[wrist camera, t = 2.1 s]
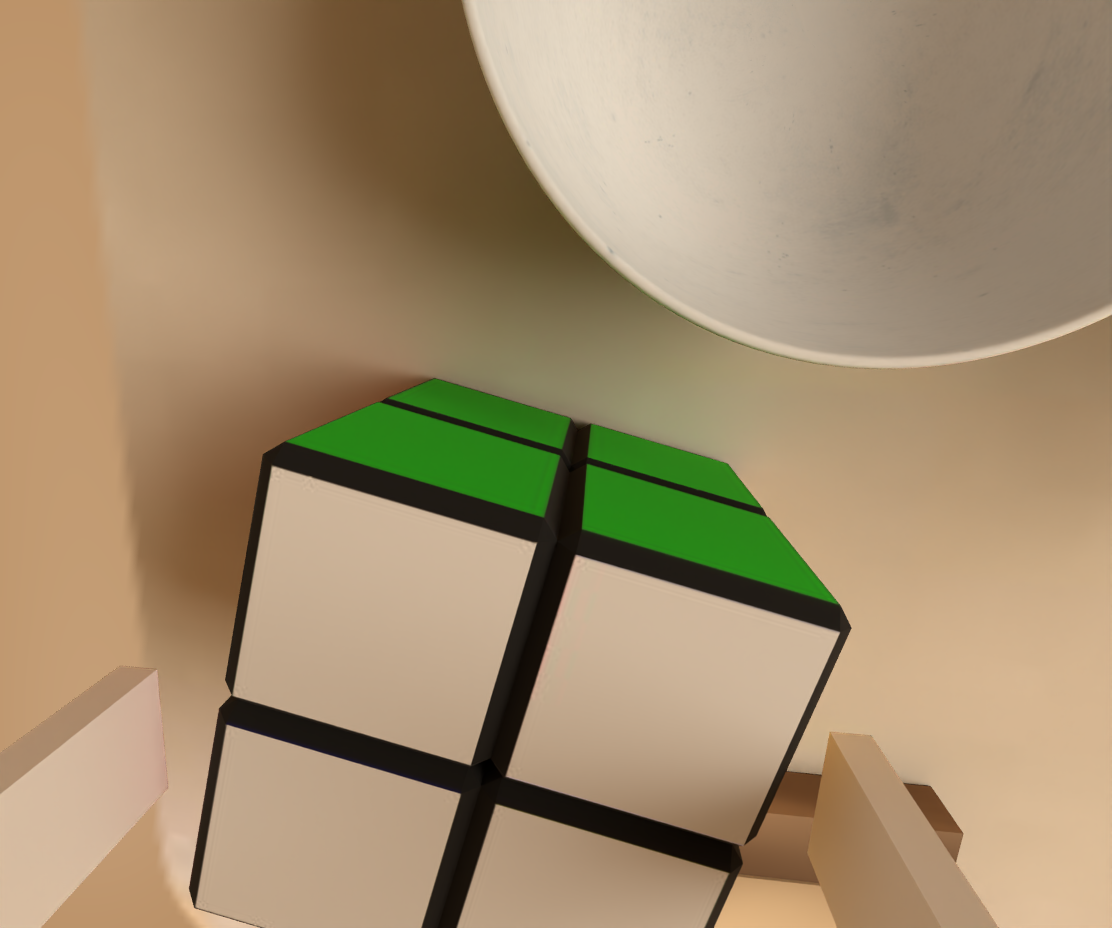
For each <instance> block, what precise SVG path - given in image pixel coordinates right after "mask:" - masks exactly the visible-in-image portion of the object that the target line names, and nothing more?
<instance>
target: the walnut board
mask: <svg viewBox="0 0 1112 928" xmlns="http://www.w3.org/2000/svg"><path fill="white" fill-rule="evenodd" d="M821 777H822V775H813V774H804V773H794V772H786V773H785V775H784V777H783V779H782V781H781V784H780V786H779V788H778V790H777V792H776V794H775V797H774V799H773V801H772V803H771V805H770V808H769V810H768V812H767V814H766V816H765V819H764V821H763V823H762V825H761V827H760V829H759V832H758V834H757V836H756V837H755V838H753V839H752V840H751V841H749V842H748V843H747V844H746V845H744V846H739V849H740V853H741V857H742V861H743V865H742V867H741V869H740V872H739V874H738V876H737V878H736V880H735V883H734V885H733V887H732V889H731V891H730V894H729V896H728V898H727V900H726V902H725V905H724V907H723V909H722V911H721V913H720V915H719V918H718V920H717V922H716V924H715V926H714V928H837V926H836V924H835V921H834V919H833V916H832V914H831V911H830V909H829V906H828V904H827V901H826V899H825V896H824V894H823V891H822V888H821V886H820V883H819V881H818V878H817V876H816V873H815V871H814V868H813V866H812V863H811V861H810V858H809V856H808V853H807V852H808V847H809V841H810V836H811V831H812V825H813V820H814V815H815V809H816V804H817V798H818V793H819V788H820V782H821ZM904 786H905V787H906V789H907V790H908V792H909V793H910V795H911V796H912V798H913V799H914V801H915V802H916V804H917V805H918V807H919V808H920V810H921V811H922V813H923V814H924V816H925V817H926V819H927V820H928V822H929V823H930V825H931V826H932V828H933V829H934V831H935V832H936V834H937V835H938V837H939V838H940V840H941V841H942V843H943V844H944V846H945V847H946V849H947V850H948V852H949V853H950V855H951V856H952V858H953V859H954V861H955V862H956V860H957V856H958V852H959V848H960V845H961V841H962V837H963V832H962V831H961V829H960V828H959V826H958V825H957V824H956V822H955V821H954V819H953V818H952V816H951V815H950V813H949V812H948V810H947V809H946V808H945V806H944V805H943V803H942V802H941V800H940V799H939V797H938V796H937V795H936V793H935V792H934V790H933V789H932V787H931V786H922V785H912V784H904Z"/></svg>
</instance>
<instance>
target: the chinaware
mask: <svg viewBox="0 0 1112 928" xmlns="http://www.w3.org/2000/svg"><path fill="white" fill-rule="evenodd" d="M462 5H463V9H464V13H465V17H466V21H467V25H468V29H469V32H470V36H471V39H472V43H473V46H474V49H475V52H476V55H477V59H478V62H479V64H480V67H481V70H482V73H483V75H484V78H485V81H486V84H487V86H488V89H489V91H490V93H491V96H492V98H493V101H494V103H495V106H496V108H497V110H498V112H499V114H500V116H501V118H502V121H503V123H504V125H505V127H506V129H507V131H508V133H509V135H510V137H511V139H512V140H513V142H514V144H515V146H516V148H517V150H518V151H519V153H520V155H521V157H522V158H523V160H524V162H525V163H526V165H527V167H528V168H529V170H530V172H531V173H532V175H533V176H534V178H535V179H536V181H537V182H538V184H539V185H540V187H541V188H542V190H543V191H544V192H545V194H546V195H547V197H548V198H549V199H550V201H551V202H552V204H553V205H554V206H555V207H556V209H557V210H558V211H559V212H560V214H561V215H562V216H563V217H564V219H565V220H566V221H567V222H568V223H569V225H570V226H571V227H572V228H573V229H574V230H575V231H576V233H577V234H578V235H579V236H580V237H581V238H582V239H583V240H584V241H585V242H586V243H587V244H588V245H589V246H590V247H591V249H592V250H593V251H594V252H595V253H596V254H597V255H599V256H600V257H601V258H602V259H603V260H604V261H605V262H606V263H607V264H608V265H609V266H610V267H611V268H613V269H614V270H615V271H616V272H617V273H619V274H620V275H621V276H622V277H623V278H625V279H626V280H627V281H628V282H630V283H631V284H632V285H634V286H635V287H636V288H638V289H639V290H640V291H641V292H643V293H644V294H646V295H647V296H649V297H650V298H652V299H653V300H654V301H656V302H657V303H659V304H660V305H662V306H664V307H665V308H667V309H669V310H670V311H672V312H674V313H675V314H677V315H678V316H680V317H682V318H684V319H686V320H688V321H690V322H692V323H693V324H695V325H697V326H699V327H701V328H703V329H706V330H708V331H710V332H712V333H714V334H716V335H719V336H721V337H724V338H726V339H728V340H731V341H733V342H736V343H739V344H742V345H745V346H747V347H750V348H753V349H756V350H760V351H763V352H766V353H770V354H773V355H777V356H781V357H785V358H790V359H794V360H799V361H804V362H810V363H815V364H822V365H830V366H838V367H849V368H864V369H907V368H923V367H933V366H943V365H950V364H957V363H963V362H969V361H974V360H979V359H984V358H989V357H993V356H998V355H1002V354H1006V353H1010V352H1014V351H1017V350H1021V349H1024V348H1028V347H1031V346H1034V345H1037V344H1040V343H1043V342H1046V341H1049V340H1052V339H1055V338H1058V337H1061V336H1063V335H1066V334H1068V333H1071V332H1074V331H1076V330H1079V329H1081V328H1084V327H1086V326H1088V325H1090V324H1093V323H1095V322H1097V321H1100V320H1102V319H1104V318H1106V317H1108V316H1110V315H1112V0H462Z"/></svg>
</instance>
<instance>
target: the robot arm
mask: <svg viewBox="0 0 1112 928" xmlns="http://www.w3.org/2000/svg"><path fill="white" fill-rule="evenodd" d="M167 789H168V780H167V769H166V759H165V748H164V737H163V727H162V716H161V705H160V694H159V684H158V673H157V669H149V668H138V667H127V666H119V667H118V668H116V669H115V670H113V671H112V672H111V673H109V674H108V675H107V676H105V677H104V678H102V679H101V680H100V681H98V682H97V683H96V684H94V685H93V686H91V687H90V688H89V689H87V690H86V691H85V692H83V693H82V694H81V695H79V696H78V697H76V698H75V699H74V700H72V701H71V702H69V703H68V704H67V705H65V706H64V707H63V708H61V709H60V710H58V711H57V712H56V713H54V714H53V715H52V716H50V717H49V718H48V719H46V720H45V721H43V722H42V723H41V724H39V725H38V726H37V727H35V728H34V729H32V730H31V731H30V732H28V733H27V734H25V735H24V736H23V737H21V738H20V739H19V740H17V741H16V742H14V743H13V744H12V745H10V746H9V747H8V748H6V749H5V750H3V751H2V752H1V753H0V928H41V927H42V926H43V924H44V923H45V922H46V921H47V920H48V919H49V918H50V917H51V916H52V914H53V913H54V912H55V911H56V910H57V909H58V908H59V907H60V906H61V905H62V904H63V903H64V901H65V900H66V899H67V898H68V897H69V896H70V895H71V894H72V893H73V891H74V890H75V889H76V888H77V887H78V886H79V885H80V884H81V883H82V882H83V881H84V880H85V878H86V877H87V876H88V875H89V874H90V873H91V872H92V871H93V870H94V868H95V867H96V866H97V865H98V864H99V863H100V862H101V861H102V860H103V859H104V857H106V855H107V854H108V853H109V852H110V851H111V850H112V849H113V848H114V847H115V846H116V844H117V843H118V842H119V841H120V840H121V839H122V838H123V837H124V836H125V835H126V834H127V832H128V831H129V830H130V829H131V828H132V827H133V826H134V825H135V824H136V823H137V822H138V820H139V819H140V818H141V817H142V816H143V815H144V814H145V813H146V812H147V811H148V809H149V808H150V807H151V806H152V805H153V804H154V803H155V802H156V801H157V800H158V799H159V797H160V796H161V795H162V794H163V793H164V792H165V791H166V790H167ZM807 853H808V856H809V858H810V861H811V863H812V866H813V868H814V871H815V873H816V876H817V878H818V881H819V883H820V886H821V888H822V891H823V894H824V896H825V899H826V901H827V904H828V906H829V909H830V911H831V914H832V916H833V919H834V921H835V924H836V926H837V928H999V927H998V926H997V924H996V923H995V921H994V920H993V918H992V917H991V915H990V914H989V912H988V911H987V909H986V908H985V906H984V905H983V903H982V902H981V900H980V899H979V897H978V896H977V894H976V893H975V891H974V890H973V888H972V887H971V885H970V884H969V882H968V881H967V879H966V878H965V876H964V875H963V873H962V872H961V870H960V869H959V867H958V865H957V864H956V862H955V861H954V859H953V858H952V856H951V855H950V853H949V852H948V850H947V849H946V847H945V846H944V844H943V843H942V841H941V840H940V838H939V837H938V835H937V834H936V832H935V831H934V829H933V828H932V826H931V825H930V823H929V822H928V820H927V819H926V817H925V816H924V814H923V813H922V811H921V810H920V808H919V807H918V805H917V804H916V802H915V801H914V799H913V798H912V796H911V795H910V793H909V792H908V790H907V789H906V787H905V786H904V784H903V783H902V781H901V780H900V778H899V777H898V775H897V774H896V772H895V770H894V769H893V767H892V766H891V764H890V763H889V761H888V760H887V758H886V757H885V755H884V754H883V752H882V751H881V749H880V748H879V746H878V745H877V743H876V742H875V740H874V739H873V737H872V736H871V735H860V734H849V733H839V732H830V734H829V739H828V745H827V750H826V755H825V761H824V766H823V772H822V777H821V782H820V788H819V793H818V798H817V804H816V809H815V815H814V820H813V825H812V831H811V836H810V841H809V847H808V852H807Z"/></svg>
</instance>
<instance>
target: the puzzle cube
mask: <svg viewBox="0 0 1112 928" xmlns="http://www.w3.org/2000/svg"><path fill="white" fill-rule="evenodd" d="M850 630H851V626H850V624H849V622H848V620H847V618H846V616H845V614H844V612H843V610H842V607H841V605H840V604H839V603H838V602H837V601H836V599H835V598H834V597H833V596H832V594H831V593H830V592H829V591H828V589H827V588H826V587H825V586H824V584H823V583H822V582H821V581H820V580H819V578H818V577H817V576H816V575H815V573H814V572H813V571H812V570H811V568H810V567H809V566H808V565H807V563H806V562H805V561H804V560H803V559H802V557H801V556H800V555H799V554H798V552H797V551H796V550H795V549H794V547H793V546H792V545H791V544H790V542H789V541H788V540H787V539H786V538H785V536H784V535H783V534H782V533H781V531H780V530H779V529H778V528H777V526H776V525H775V524H774V523H773V522H772V520H771V519H770V518H769V517H767V516H766V514H765V512H764V510H763V508H762V507H761V506H760V504H759V503H758V502H757V500H756V499H755V498H754V497H753V495H752V494H751V493H750V492H749V490H748V489H747V488H746V486H745V485H744V484H743V483H742V481H741V480H740V479H739V478H738V476H737V475H736V474H735V472H734V471H733V470H732V469H731V467H730V466H729V465H728V464H727V463H724V462H720V461H717V460H713V459H710V458H706V457H703V456H700V455H696V454H693V453H689V452H686V451H683V450H679V449H676V448H672V447H669V446H666V445H662V444H659V443H655V442H652V441H649V440H645V439H642V438H638V437H635V436H632V435H628V434H625V433H621V432H618V431H614V430H611V429H608V428H604V427H601V426H597V425H594V424H589V425H587V426H586V427H584V428H582V429H580V430H577V428H576V427H575V425H574V423H573V421H572V419H571V418H568V417H565V416H561V415H558V414H555V413H551V412H548V411H544V410H541V409H538V408H534V407H531V406H527V405H524V404H521V403H517V402H514V401H510V400H507V399H504V398H500V397H497V396H493V395H490V394H487V393H483V392H480V391H476V390H473V389H469V388H466V387H463V386H459V385H456V384H452V383H449V382H446V381H442V380H439V379H435V378H434V379H431V380H429V381H427V382H424V383H422V384H419V385H417V386H414V387H412V388H410V389H407V390H405V391H402V392H400V393H398V394H395V395H393V396H390V397H388V398H386V399H384V400H383V401H381V402H377V403H374V404H372V405H370V406H367V407H365V408H362V409H360V410H358V411H355V412H353V413H351V414H348V415H346V416H344V417H341V418H339V419H337V420H334V421H332V422H330V423H327V424H325V425H323V426H320V427H318V428H316V429H313V430H311V431H309V432H306V433H304V434H302V435H299V436H297V437H294V438H292V439H290V440H287V441H285V442H283V443H282V444H280V445H278V446H276V447H275V448H273V449H271V450H270V451H268V452H266V453H264V454H263V457H262V463H261V469H260V475H259V481H258V487H257V493H256V499H255V505H254V511H253V517H252V523H251V529H250V535H249V541H248V547H247V553H246V559H245V565H244V570H243V576H242V582H241V588H240V594H239V600H238V606H237V612H236V618H235V624H234V630H233V636H232V642H231V648H230V654H229V660H228V666H227V672H226V678H225V681H226V683H227V685H228V688H229V690H230V692H231V694H232V695H231V697H230V698H229V699H228V700H227V701H226V702H225V703H224V704H223V705H222V706H221V707H220V708H219V713H218V719H217V725H216V731H215V737H214V742H213V748H212V754H211V760H210V766H209V772H208V778H207V784H206V790H205V796H204V802H203V808H202V814H201V820H200V826H199V832H198V838H197V844H196V850H195V856H194V862H193V868H192V874H191V880H190V886H189V890H190V894H191V898H192V902H193V905H194V908H196V909H199V910H203V911H206V912H209V913H213V914H216V915H220V916H223V917H226V918H230V919H233V920H236V921H240V922H243V923H247V924H250V925H253V926H257V927H260V928H714V926H715V924H716V922H717V920H718V918H719V915H720V913H721V911H722V909H723V907H724V905H725V902H726V900H727V898H728V896H729V894H730V891H731V889H732V887H733V885H734V883H735V880H736V878H737V876H738V874H739V872H740V869H741V867H742V865H743V861H742V857H741V853H740V849H739V846H744V845H746V844H747V843H748V842H749V841H751V840H752V839H753V838H755V837H756V836H757V834H758V832H759V829H760V827H761V825H762V823H763V821H764V819H765V816H766V814H767V812H768V810H769V808H770V805H771V803H772V801H773V799H774V797H775V794H776V792H777V790H778V788H779V786H780V784H781V781H782V779H783V777H784V775H785V773H786V770H787V768H788V766H789V764H790V762H791V759H792V757H793V755H794V753H795V751H796V749H797V746H798V744H799V742H800V740H801V738H802V735H803V733H804V731H805V729H806V727H807V724H808V722H809V720H810V718H811V716H812V713H813V711H814V709H815V707H816V705H817V703H818V700H819V698H820V696H821V694H822V692H823V689H824V687H825V685H826V683H827V681H828V678H829V676H830V674H831V672H832V670H833V668H834V665H835V663H836V661H837V659H838V657H839V654H840V652H841V650H842V648H843V646H844V643H845V641H846V639H847V637H848V635H849V632H850Z"/></svg>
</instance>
